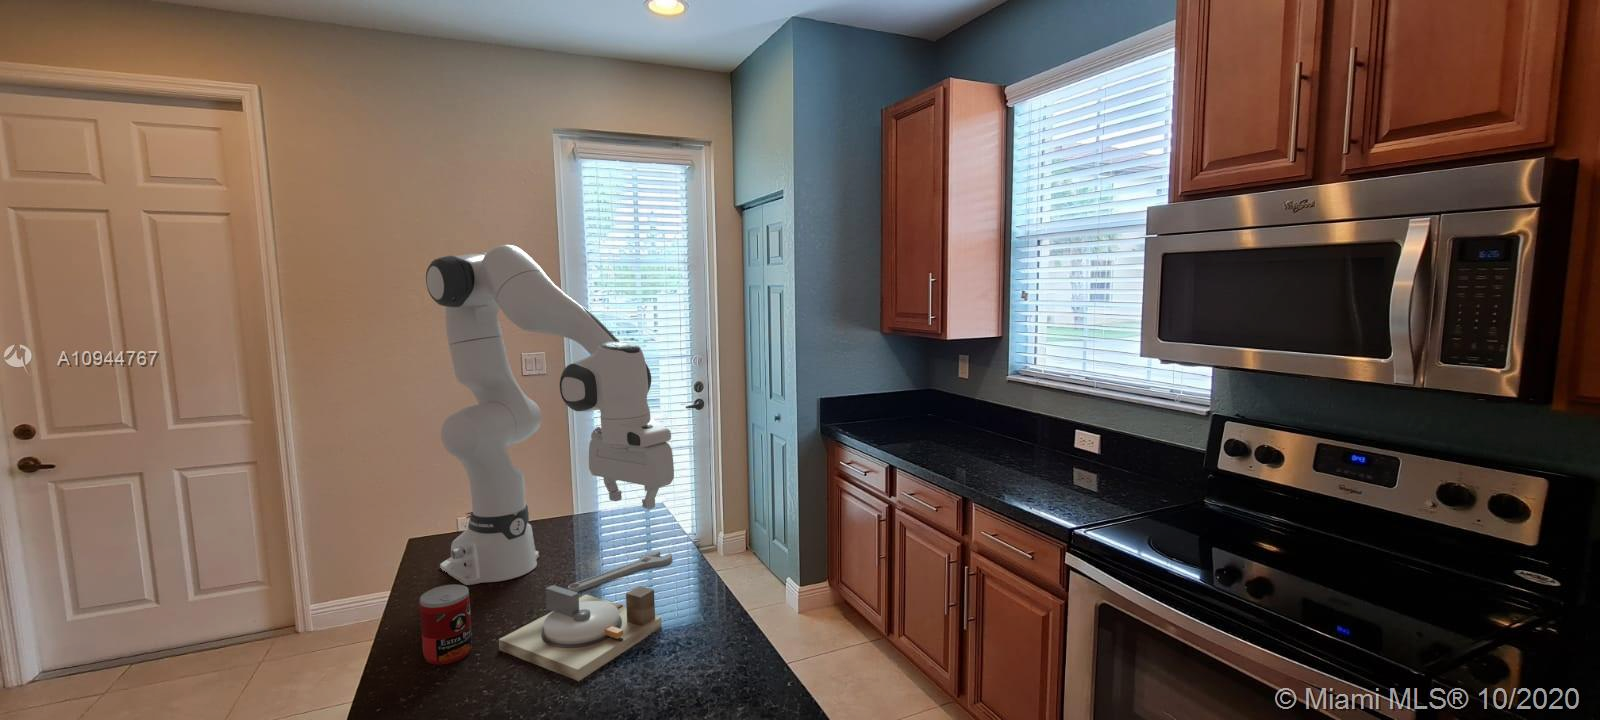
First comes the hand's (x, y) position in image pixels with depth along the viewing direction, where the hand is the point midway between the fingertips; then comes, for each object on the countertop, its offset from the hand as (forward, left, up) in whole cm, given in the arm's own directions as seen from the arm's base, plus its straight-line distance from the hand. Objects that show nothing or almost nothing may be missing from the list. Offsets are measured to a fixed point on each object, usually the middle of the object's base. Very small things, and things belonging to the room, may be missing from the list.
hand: (632, 504), depth 124 cm
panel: (-6, -8, -24) cm, 26 cm away
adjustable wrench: (-21, +17, -25) cm, 36 cm away
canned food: (-23, -23, -24) cm, 40 cm away
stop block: (+2, -1, -22) cm, 22 cm away
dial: (-6, -8, -22) cm, 24 cm away
